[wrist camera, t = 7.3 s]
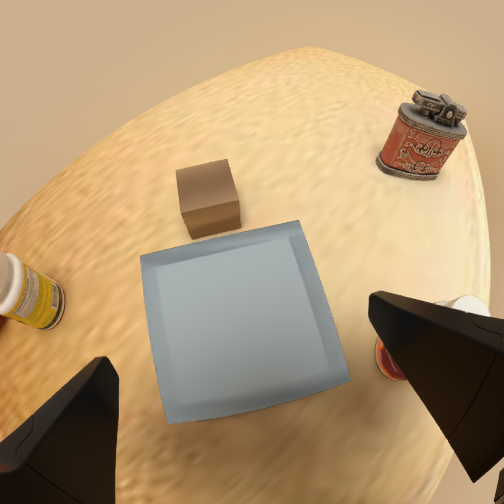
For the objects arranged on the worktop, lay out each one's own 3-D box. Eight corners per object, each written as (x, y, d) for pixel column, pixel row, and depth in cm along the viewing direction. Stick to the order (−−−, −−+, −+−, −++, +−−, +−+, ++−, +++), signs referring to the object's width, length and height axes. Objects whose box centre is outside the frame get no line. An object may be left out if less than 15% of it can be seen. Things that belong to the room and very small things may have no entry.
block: (241, 228, 22) (238, 199, 18) (192, 240, 22) (180, 213, 18) (230, 190, 24) (227, 158, 20) (186, 200, 23) (175, 170, 20)
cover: (300, 376, 17) (351, 380, 8) (212, 397, 16) (167, 423, 7) (277, 294, 19) (298, 219, 10) (193, 313, 19) (140, 255, 10)
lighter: (429, 161, 26) (467, 98, 17) (440, 183, 24) (484, 121, 15) (372, 152, 26) (403, 76, 17) (380, 176, 24) (419, 98, 15)
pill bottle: (374, 319, 19) (437, 284, 11) (424, 321, 19) (493, 289, 11) (371, 382, 17) (439, 381, 9) (422, 379, 17) (497, 371, 9)
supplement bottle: (25, 308, 19) (-37, 277, 11) (49, 270, 20) (-9, 228, 13) (48, 342, 18) (-22, 318, 10) (74, 301, 19) (8, 262, 12)
